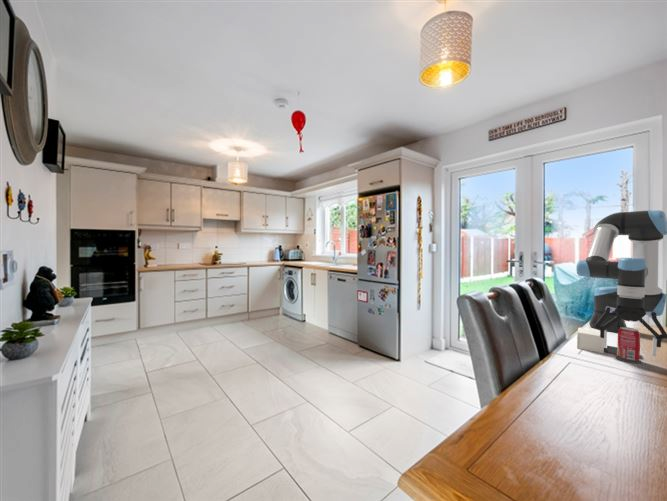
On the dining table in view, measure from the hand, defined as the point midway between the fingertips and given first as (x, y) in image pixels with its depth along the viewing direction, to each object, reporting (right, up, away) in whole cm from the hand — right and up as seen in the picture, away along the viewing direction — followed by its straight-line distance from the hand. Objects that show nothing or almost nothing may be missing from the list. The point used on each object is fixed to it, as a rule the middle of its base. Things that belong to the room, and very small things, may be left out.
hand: (628, 350), depth 114 cm
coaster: (0, -4, 0) cm, 4 cm away
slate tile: (+5, -4, +7) cm, 10 cm away
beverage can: (0, -3, 0) cm, 4 cm away
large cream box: (-3, -3, +14) cm, 15 cm away
